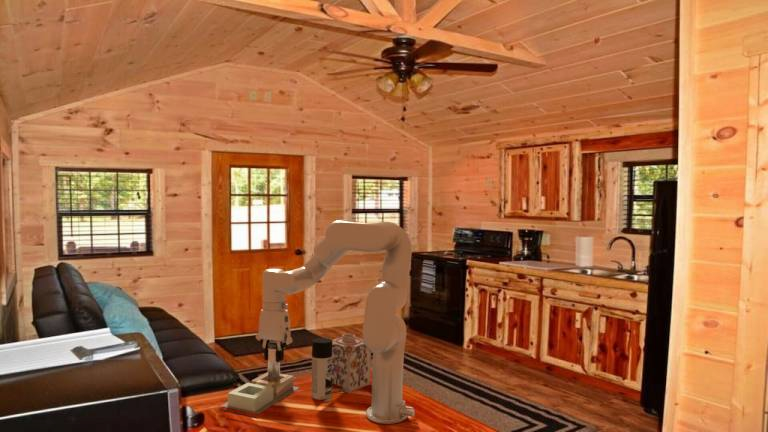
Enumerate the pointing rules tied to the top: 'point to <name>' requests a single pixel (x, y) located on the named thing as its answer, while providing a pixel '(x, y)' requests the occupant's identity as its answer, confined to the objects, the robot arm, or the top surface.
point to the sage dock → (250, 396)
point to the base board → (263, 406)
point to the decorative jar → (350, 363)
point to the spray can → (322, 369)
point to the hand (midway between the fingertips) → (273, 359)
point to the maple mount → (275, 383)
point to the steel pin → (273, 360)
